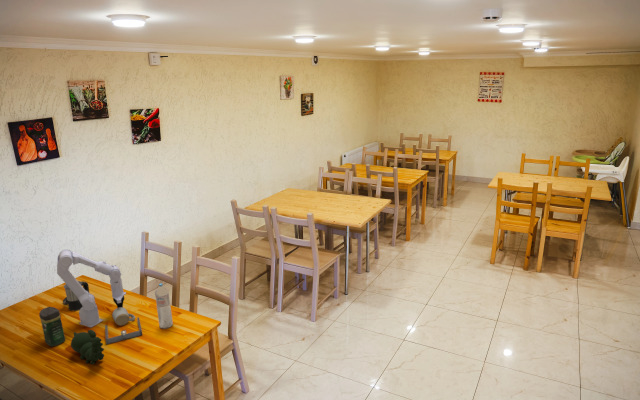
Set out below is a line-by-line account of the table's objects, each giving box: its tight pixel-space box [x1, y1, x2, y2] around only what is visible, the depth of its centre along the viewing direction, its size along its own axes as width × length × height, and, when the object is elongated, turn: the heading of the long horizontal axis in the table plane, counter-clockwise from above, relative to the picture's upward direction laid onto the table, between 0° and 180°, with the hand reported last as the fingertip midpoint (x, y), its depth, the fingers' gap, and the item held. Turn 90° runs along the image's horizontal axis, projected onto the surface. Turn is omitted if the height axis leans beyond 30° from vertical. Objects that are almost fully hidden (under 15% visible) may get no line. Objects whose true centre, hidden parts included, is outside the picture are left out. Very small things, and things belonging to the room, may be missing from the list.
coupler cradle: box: [104, 316, 143, 345], centre depth 229 cm, size 16×17×4 cm
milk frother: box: [62, 280, 90, 312], centre depth 256 cm, size 14×16×15 cm
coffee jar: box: [39, 306, 66, 347], centre depth 220 cm, size 10×8×19 cm
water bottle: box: [154, 282, 174, 330], centre depth 232 cm, size 7×7×25 cm
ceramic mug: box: [111, 306, 136, 327], centre depth 239 cm, size 11×8×8 cm
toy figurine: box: [70, 329, 105, 365], centre depth 208 cm, size 9×19×25 cm
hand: (120, 308), depth 246 cm, fingers closed
